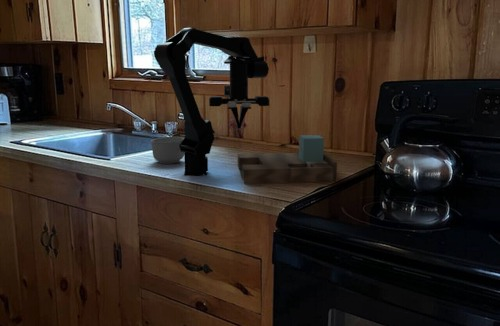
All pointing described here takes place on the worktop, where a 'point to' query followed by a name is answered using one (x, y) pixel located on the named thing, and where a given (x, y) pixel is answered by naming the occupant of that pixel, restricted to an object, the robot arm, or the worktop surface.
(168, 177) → the worktop surface
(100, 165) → the worktop surface
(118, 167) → the worktop surface
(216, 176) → the worktop surface
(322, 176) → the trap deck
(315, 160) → the teal block
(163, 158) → the teacup
